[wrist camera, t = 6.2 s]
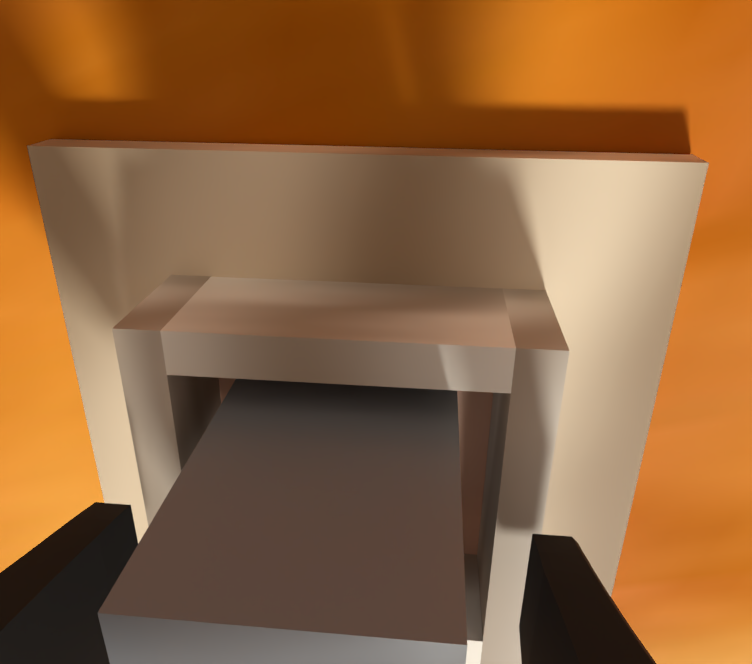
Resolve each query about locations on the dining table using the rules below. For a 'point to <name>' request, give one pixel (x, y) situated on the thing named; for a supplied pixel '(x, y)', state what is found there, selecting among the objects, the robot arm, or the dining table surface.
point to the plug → (304, 535)
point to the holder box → (383, 315)
